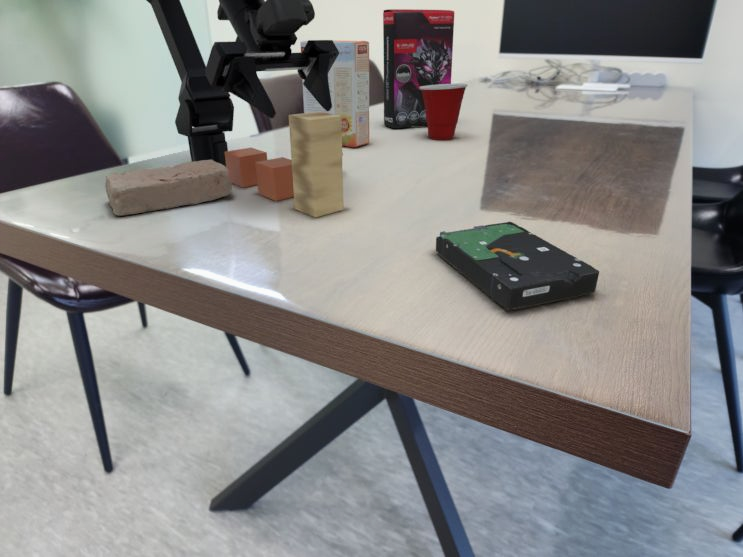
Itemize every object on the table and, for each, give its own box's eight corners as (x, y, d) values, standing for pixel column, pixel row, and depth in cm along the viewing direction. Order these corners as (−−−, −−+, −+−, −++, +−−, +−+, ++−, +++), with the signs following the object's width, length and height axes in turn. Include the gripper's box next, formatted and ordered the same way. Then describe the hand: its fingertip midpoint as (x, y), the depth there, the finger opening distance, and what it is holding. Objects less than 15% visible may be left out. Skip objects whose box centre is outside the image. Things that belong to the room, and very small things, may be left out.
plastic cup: (431, 131, 126) (434, 80, 121) (471, 136, 121) (475, 83, 115) (408, 138, 118) (410, 84, 113) (449, 144, 113) (453, 87, 107)
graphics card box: (392, 130, 128) (394, 8, 116) (380, 125, 134) (381, 9, 122) (449, 125, 135) (457, 9, 122) (436, 121, 140) (442, 10, 128)
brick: (117, 218, 69) (109, 184, 67) (107, 202, 75) (100, 170, 73) (235, 199, 77) (231, 168, 75) (217, 186, 83) (214, 157, 81)
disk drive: (596, 296, 50) (508, 240, 62) (602, 270, 48) (511, 219, 60) (507, 315, 46) (432, 252, 58) (511, 288, 45) (434, 230, 57)
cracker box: (370, 143, 113) (370, 40, 104) (355, 148, 108) (354, 41, 99) (320, 137, 120) (316, 39, 110) (304, 141, 115) (299, 40, 106)
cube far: (228, 181, 85) (224, 151, 83) (254, 176, 88) (251, 147, 86) (242, 187, 82) (239, 156, 80) (269, 182, 85) (266, 152, 83)
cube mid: (258, 193, 79) (255, 162, 77) (285, 187, 82) (282, 157, 80) (275, 201, 76) (272, 168, 73) (303, 194, 79) (301, 162, 76)
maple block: (294, 209, 72) (288, 115, 67) (322, 201, 75) (318, 111, 70) (315, 217, 69) (310, 119, 63) (343, 210, 72) (341, 115, 66)
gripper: (202, -35, 59) (261, 73, 56) (329, -25, 70) (382, 66, 68) (184, 38, 67) (234, 135, 65) (299, 37, 79) (346, 119, 76)
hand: (302, 112), depth 68 cm, fingers open, 9 cm apart
